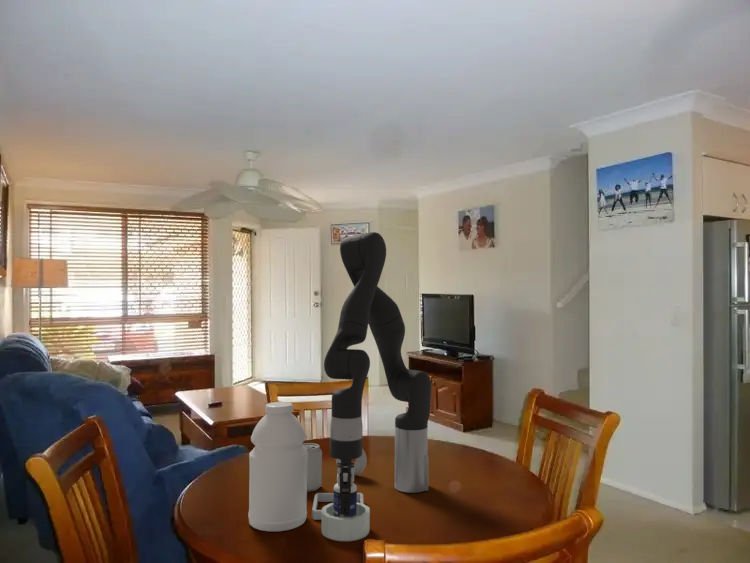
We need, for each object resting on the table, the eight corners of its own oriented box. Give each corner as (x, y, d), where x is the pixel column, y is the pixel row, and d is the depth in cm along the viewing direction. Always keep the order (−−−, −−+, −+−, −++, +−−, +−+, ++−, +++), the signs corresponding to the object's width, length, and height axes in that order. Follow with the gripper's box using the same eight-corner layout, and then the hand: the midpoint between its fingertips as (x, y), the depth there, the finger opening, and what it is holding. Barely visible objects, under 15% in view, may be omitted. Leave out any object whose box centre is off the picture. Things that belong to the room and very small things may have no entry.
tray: (362, 500, 151) (363, 492, 151) (363, 519, 138) (363, 511, 138) (315, 500, 151) (315, 493, 151) (311, 519, 138) (311, 511, 138)
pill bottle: (338, 523, 128) (339, 480, 128) (329, 515, 133) (330, 473, 133) (360, 519, 130) (360, 476, 131) (350, 511, 135) (351, 470, 135)
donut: (333, 475, 172) (333, 441, 172) (338, 471, 175) (338, 439, 175) (363, 479, 168) (364, 445, 168) (368, 475, 171) (368, 442, 171)
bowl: (368, 521, 137) (368, 501, 137) (370, 541, 126) (370, 519, 126) (323, 521, 137) (323, 501, 137) (320, 541, 126) (320, 519, 126)
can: (316, 493, 156) (317, 449, 156) (290, 491, 157) (291, 447, 157) (324, 484, 163) (325, 442, 163) (299, 482, 165) (300, 441, 165)
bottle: (254, 536, 128) (256, 411, 128) (242, 514, 141) (244, 400, 141) (314, 527, 134) (315, 407, 134) (298, 506, 146) (299, 397, 147)
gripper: (362, 443, 125) (361, 521, 125) (362, 428, 139) (361, 497, 139) (328, 443, 125) (327, 521, 124) (331, 427, 139) (330, 497, 139)
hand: (345, 508), depth 132 cm, fingers closed on pill bottle, 5 cm apart
